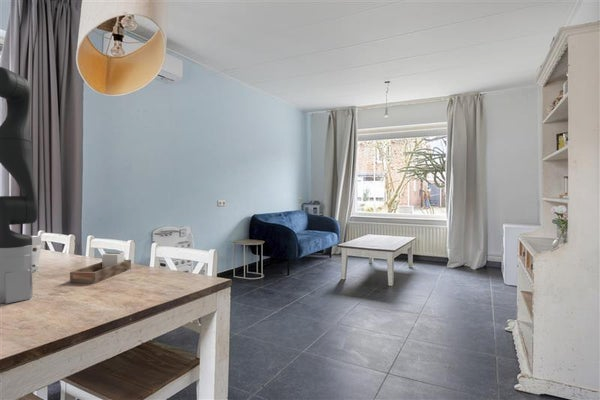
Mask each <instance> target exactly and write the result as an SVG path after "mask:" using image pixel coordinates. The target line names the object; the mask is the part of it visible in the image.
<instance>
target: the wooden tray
mask: <svg viewBox="0 0 600 400" xmlns="http://www.w3.org/2000/svg"><path fill="white" fill-rule="evenodd" d="M129 270H132V259H124V262H121V263H118V264H115V265H113V266H110V267H107V268H102V261H100V262H98V263H94V264H90V265H87V266H85V267H82V268H78V269H75V270H73V271H70V272H69V283H71V284H72V283H73V284H97V283H100V282H102V281H104V280H107V279H109V278H112V277H115V276H117V275H119V274H121V273H124V272H127V271H129Z"/></svg>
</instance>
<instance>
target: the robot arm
mask: <svg viewBox="0 0 600 400" xmlns="http://www.w3.org/2000/svg"><path fill="white" fill-rule="evenodd" d="M31 91H32V90H31V85H30V83H29V81H28V80H27V79H26V78H25V77H24V76H22V75H20V74H18V73H16V72H13V71H12V70H10V69H7V68H6V67H2V66H0V98H2V99H5V100H6V107H7V109H6V110H7V111H6V117H5V119H4V120H3V121H2V123H1V125H0V164H1V166H2V167H3V168H4V169H5V170H6V171H7V172H8V173H9V175H11V176H12V178H13V179H14V180H15V182H16V183H17V186H18V188H19V190H20V193H21V195H1V196H0V304H10V303H17V302H21V301H26V300H31V298H32V297H33V294H34V293H33V292H34V291H33V289H34V287H33V285H34V284H33V283H34V282H33V272H32V237H31V236H32V235H28V234H25V233H19V232H16V231H14V230H12V229H11V227H10V226H13V225H27V224H28V225H29V224H30V225H31V224H34V223H35V222H37V220H38V217H39V204H38V197H37V193H36V192H37V191H36V186H35V185H36V184H35V180H34V179H35V178H34V167H33V147H32V146H33V145H32V139H31V138H32V137H31V119H30V118H31V115H30V114H31V112H30V111H31V96H32V93H31Z"/></svg>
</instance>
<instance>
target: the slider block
mask: <svg viewBox="0 0 600 400" xmlns="http://www.w3.org/2000/svg"><path fill="white" fill-rule="evenodd" d="M124 260H125V252H118V251H117V252H110V251H109V252H108V251H107V252H106V253H102V254H101V262H102V268H107V267H110V266H113V265H115V264H118V263H121V262H124Z"/></svg>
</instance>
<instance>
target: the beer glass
mask: <svg viewBox="0 0 600 400" xmlns="http://www.w3.org/2000/svg"><path fill="white" fill-rule="evenodd" d="M30 236H31V237H32V273H36V272H39V271H41V269H40V263H39V260H40V255H41V249H42V242H41V235H30Z"/></svg>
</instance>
